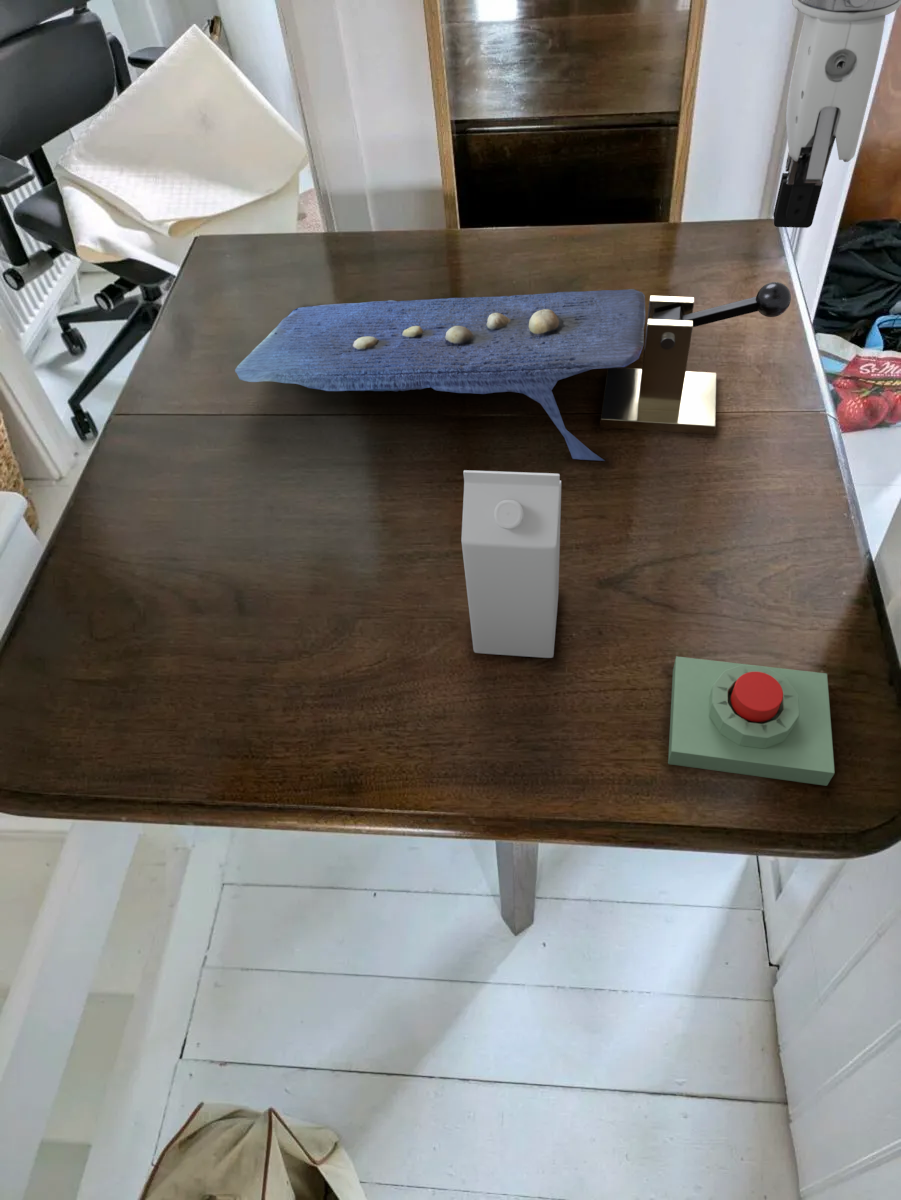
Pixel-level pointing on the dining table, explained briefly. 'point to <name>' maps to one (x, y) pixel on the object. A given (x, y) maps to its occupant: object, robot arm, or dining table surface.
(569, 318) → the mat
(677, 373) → the metal lever base
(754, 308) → the lever switch
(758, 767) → the green push button box
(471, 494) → the milk carton
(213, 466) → the dining table surface
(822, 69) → the robot arm
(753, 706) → the power button
